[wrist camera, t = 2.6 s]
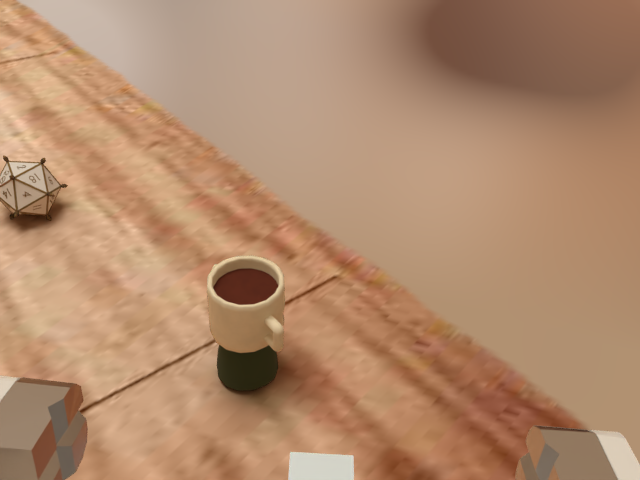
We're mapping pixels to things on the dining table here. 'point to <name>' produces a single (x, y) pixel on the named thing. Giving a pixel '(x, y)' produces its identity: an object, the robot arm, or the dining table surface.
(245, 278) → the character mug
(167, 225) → the dining table surface
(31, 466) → the robot arm
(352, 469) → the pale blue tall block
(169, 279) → the dining table surface
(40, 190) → the game die
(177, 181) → the dining table surface
